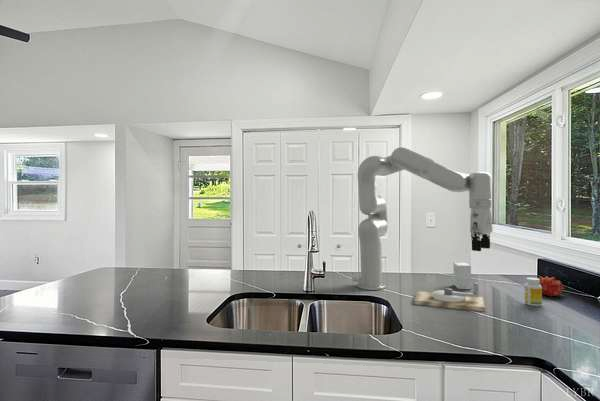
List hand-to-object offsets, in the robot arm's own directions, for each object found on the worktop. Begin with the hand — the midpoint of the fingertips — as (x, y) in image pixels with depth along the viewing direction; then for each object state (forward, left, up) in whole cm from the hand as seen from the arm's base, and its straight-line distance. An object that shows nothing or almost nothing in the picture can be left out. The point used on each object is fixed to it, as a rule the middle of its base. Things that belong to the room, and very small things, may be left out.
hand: (481, 249), depth 134 cm
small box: (-7, +22, -21) cm, 30 cm away
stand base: (-12, -5, -20) cm, 24 cm away
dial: (-10, -5, -19) cm, 22 cm away
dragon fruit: (+25, +20, -21) cm, 38 cm away
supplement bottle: (+17, +4, -21) cm, 27 cm away
